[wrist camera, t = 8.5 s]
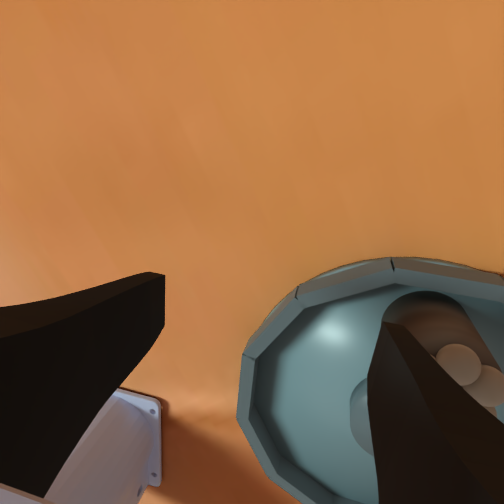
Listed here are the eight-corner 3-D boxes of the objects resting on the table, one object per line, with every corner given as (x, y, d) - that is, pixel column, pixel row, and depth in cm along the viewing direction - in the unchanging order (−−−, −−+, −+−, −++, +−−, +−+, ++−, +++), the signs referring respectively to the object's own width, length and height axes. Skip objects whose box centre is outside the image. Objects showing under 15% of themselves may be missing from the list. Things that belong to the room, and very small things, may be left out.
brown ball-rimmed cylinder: (455, 368, 20) (494, 460, 14) (373, 351, 20) (382, 431, 15) (480, 299, 18) (536, 374, 13) (390, 283, 19) (408, 347, 14)
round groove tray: (509, 543, 24) (525, 584, 22) (237, 463, 28) (229, 491, 25) (655, 294, 17) (699, 319, 15) (262, 230, 20) (252, 243, 18)
